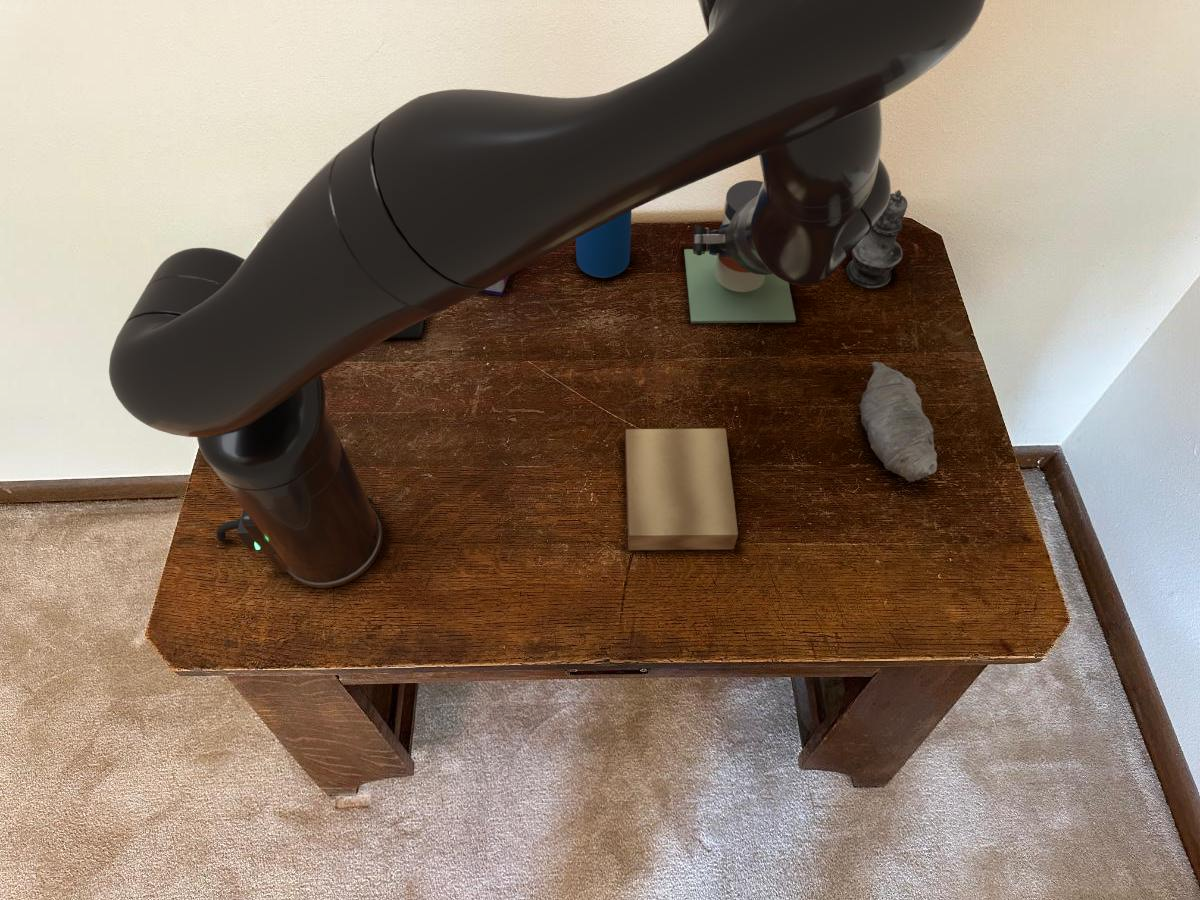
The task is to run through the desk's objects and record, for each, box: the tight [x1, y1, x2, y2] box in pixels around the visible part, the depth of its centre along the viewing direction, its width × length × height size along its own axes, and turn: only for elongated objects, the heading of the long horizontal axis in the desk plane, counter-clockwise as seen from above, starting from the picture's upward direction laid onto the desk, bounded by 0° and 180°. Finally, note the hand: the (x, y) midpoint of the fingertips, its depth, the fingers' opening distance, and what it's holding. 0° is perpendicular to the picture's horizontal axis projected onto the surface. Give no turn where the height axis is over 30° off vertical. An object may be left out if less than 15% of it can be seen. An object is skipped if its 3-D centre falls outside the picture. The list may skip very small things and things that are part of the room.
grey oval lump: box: [859, 361, 938, 482], centre depth 80 cm, size 6×14×8 cm, turn 5°
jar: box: [715, 179, 766, 292], centre depth 89 cm, size 6×11×6 cm
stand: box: [624, 427, 739, 551], centre depth 77 cm, size 10×12×3 cm
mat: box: [683, 248, 797, 324], centre depth 95 cm, size 12×12×1 cm
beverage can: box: [575, 210, 632, 279], centre depth 92 cm, size 6×6×12 cm
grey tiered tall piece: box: [845, 189, 908, 289], centre depth 91 cm, size 6×6×12 cm
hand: (742, 245), depth 92 cm, fingers closed on jar, 6 cm apart
